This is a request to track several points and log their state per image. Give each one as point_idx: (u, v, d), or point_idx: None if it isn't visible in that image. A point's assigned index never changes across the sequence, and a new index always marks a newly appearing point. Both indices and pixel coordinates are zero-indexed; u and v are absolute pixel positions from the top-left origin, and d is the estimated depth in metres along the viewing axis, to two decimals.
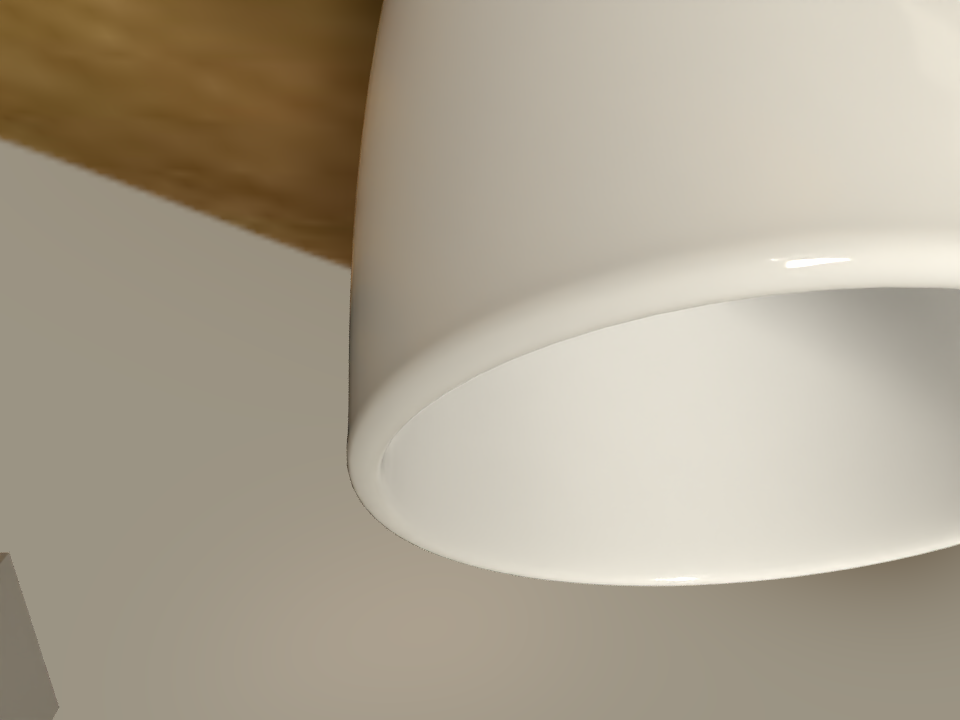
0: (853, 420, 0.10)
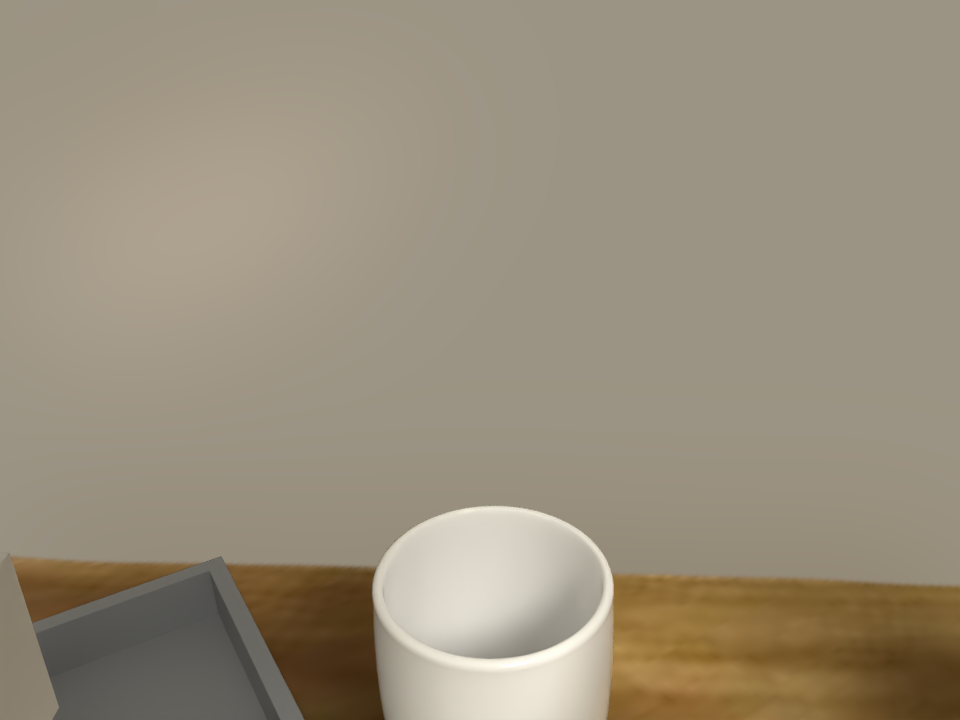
0: (390, 605, 0.24)
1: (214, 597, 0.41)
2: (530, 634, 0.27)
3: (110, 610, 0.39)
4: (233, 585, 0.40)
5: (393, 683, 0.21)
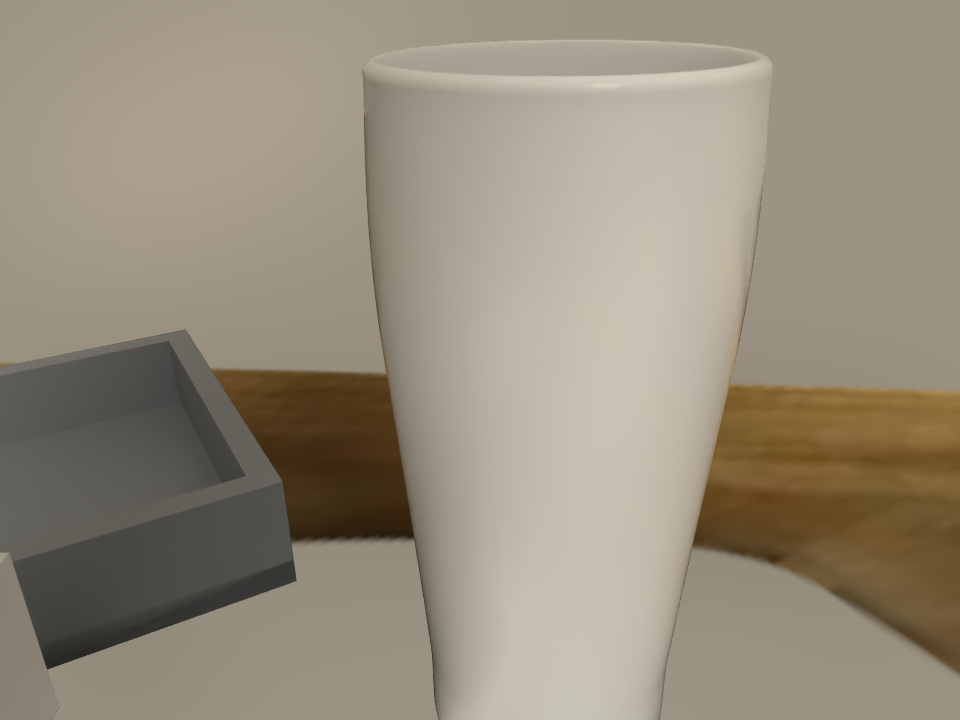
0: None
1: (175, 379, 0.32)
2: None
3: (37, 374, 0.30)
4: (197, 352, 0.31)
5: (394, 195, 0.12)
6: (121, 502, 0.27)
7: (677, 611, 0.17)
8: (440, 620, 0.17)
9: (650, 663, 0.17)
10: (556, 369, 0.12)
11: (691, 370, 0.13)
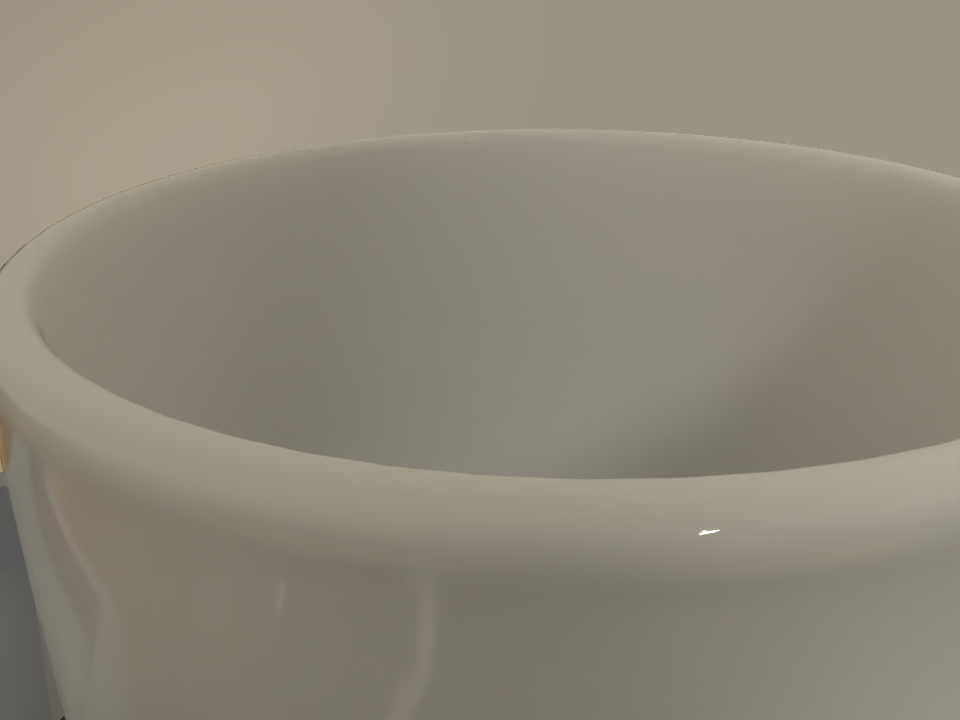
0: (170, 395, 0.07)
1: None
2: None
3: None
4: None
5: (54, 668, 0.04)
6: None
7: None
8: None
9: None
10: None
11: None
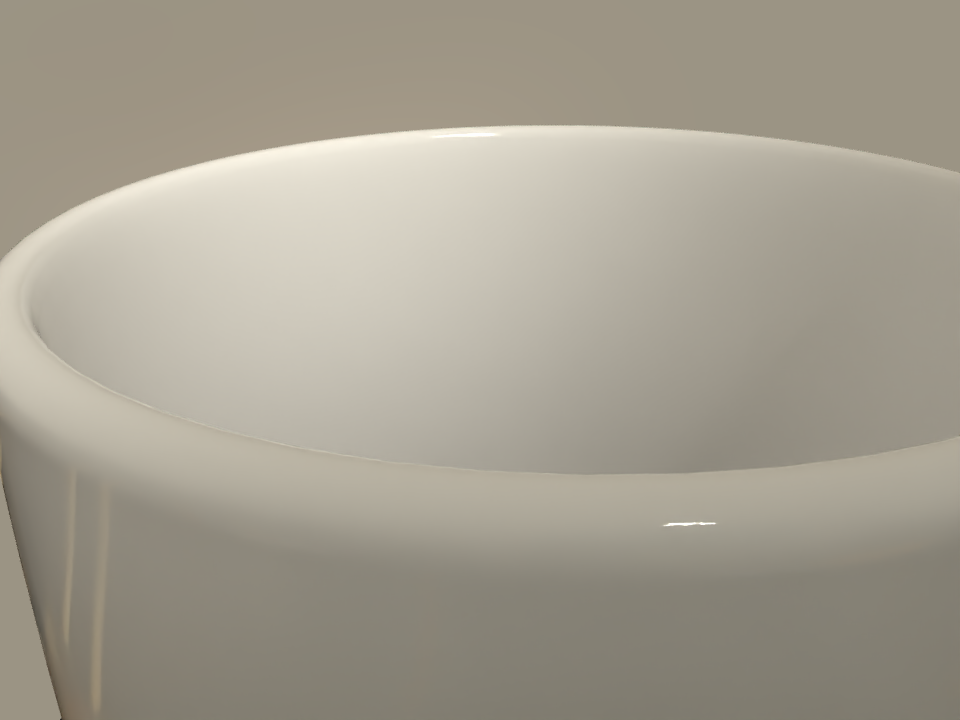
0: (168, 392, 0.07)
1: None
2: None
3: None
4: None
5: (50, 668, 0.04)
6: None
7: None
8: None
9: None
10: None
11: None
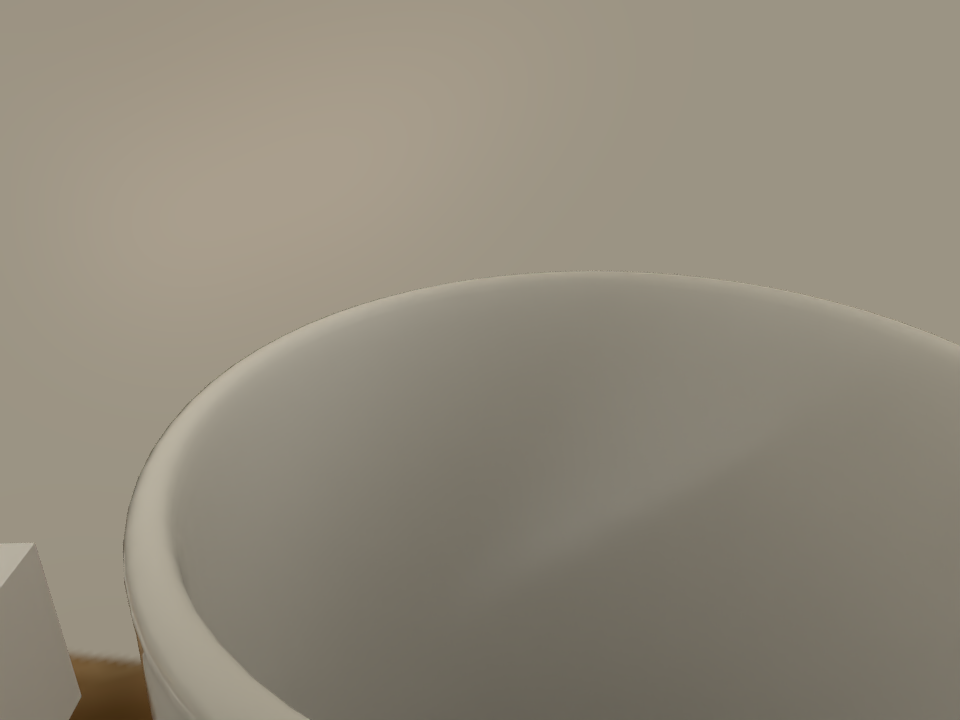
0: (254, 551, 0.07)
1: None
2: (665, 647, 0.10)
3: None
4: None
5: None
6: None
7: None
8: None
9: None
10: None
11: None
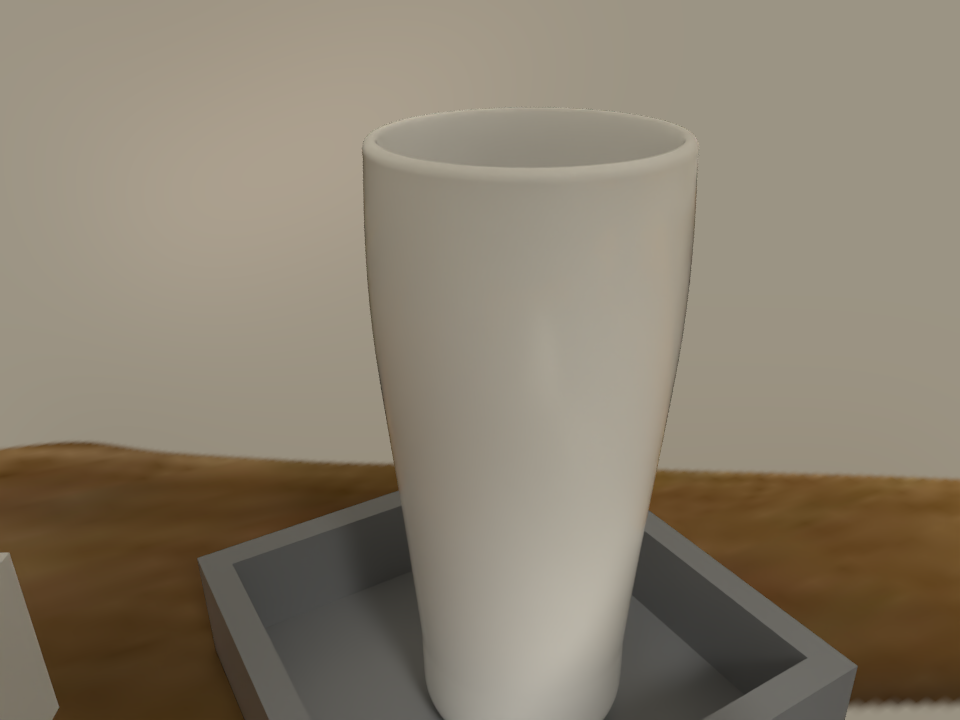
0: None
1: None
2: None
3: None
4: None
5: (389, 254, 0.15)
6: None
7: (631, 594, 0.20)
8: (428, 602, 0.20)
9: (607, 638, 0.19)
10: (521, 395, 0.15)
11: (632, 395, 0.16)
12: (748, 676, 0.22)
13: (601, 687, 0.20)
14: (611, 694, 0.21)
